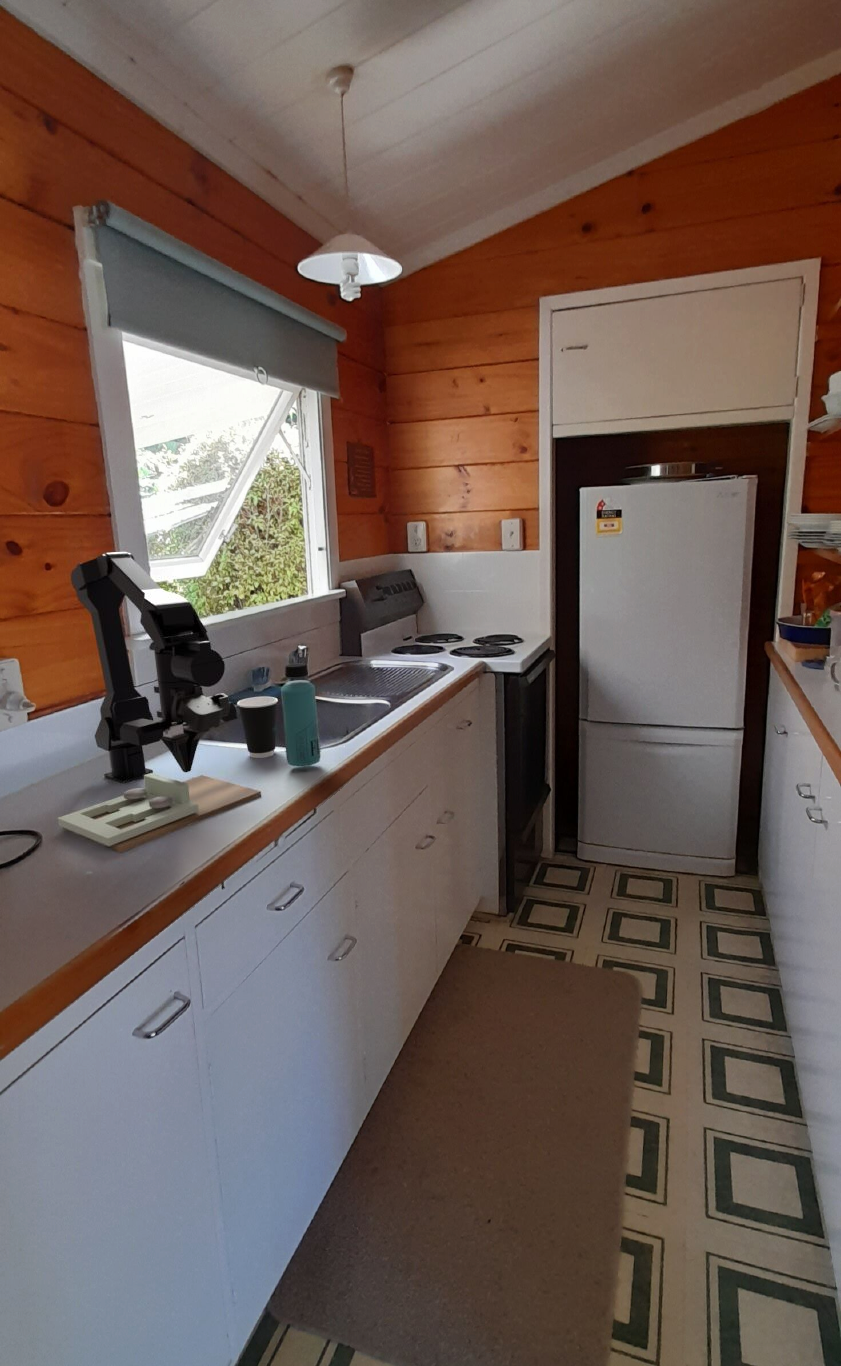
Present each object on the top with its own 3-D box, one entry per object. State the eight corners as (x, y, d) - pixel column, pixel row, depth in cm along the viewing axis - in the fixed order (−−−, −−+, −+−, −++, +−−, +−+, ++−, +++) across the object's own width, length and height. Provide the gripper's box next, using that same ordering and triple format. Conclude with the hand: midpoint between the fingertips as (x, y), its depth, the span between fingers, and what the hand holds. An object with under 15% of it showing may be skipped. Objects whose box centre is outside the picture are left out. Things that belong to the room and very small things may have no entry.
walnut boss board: (62, 828, 114) (59, 806, 113) (202, 779, 134) (200, 760, 134) (120, 852, 105) (117, 828, 104) (261, 795, 125) (259, 775, 124)
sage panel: (58, 825, 113) (54, 799, 112) (147, 794, 124) (144, 770, 124) (109, 846, 104) (105, 818, 103) (198, 811, 116) (195, 786, 115)
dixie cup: (289, 753, 148) (285, 700, 146) (255, 763, 143) (250, 708, 140) (268, 746, 154) (263, 694, 151) (234, 755, 148) (229, 701, 146)
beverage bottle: (315, 775, 134) (307, 667, 130) (280, 773, 136) (272, 667, 131) (326, 763, 141) (319, 660, 136) (293, 762, 142) (285, 660, 138)
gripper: (154, 696, 106) (166, 798, 110) (254, 673, 121) (262, 763, 124) (112, 688, 113) (124, 785, 116) (212, 667, 128) (220, 753, 131)
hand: (186, 771), depth 122 cm, fingers closed
